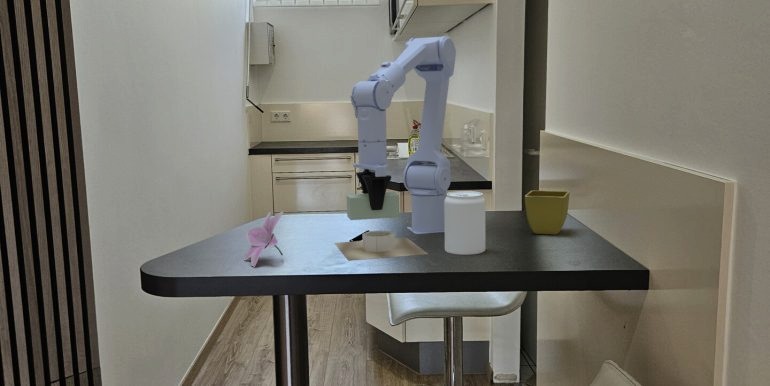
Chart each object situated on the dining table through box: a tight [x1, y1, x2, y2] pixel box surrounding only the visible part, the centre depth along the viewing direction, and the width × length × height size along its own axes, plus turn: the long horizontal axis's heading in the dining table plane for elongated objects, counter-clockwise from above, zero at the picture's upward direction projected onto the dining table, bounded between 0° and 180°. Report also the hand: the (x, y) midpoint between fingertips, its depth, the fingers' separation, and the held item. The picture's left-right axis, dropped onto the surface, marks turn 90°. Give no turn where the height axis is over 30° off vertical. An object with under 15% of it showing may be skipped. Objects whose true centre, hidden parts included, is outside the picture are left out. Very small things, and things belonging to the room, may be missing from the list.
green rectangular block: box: [346, 191, 400, 221], centre depth 143 cm, size 10×4×4 cm, turn 102°
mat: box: [333, 237, 429, 262], centre depth 144 cm, size 16×16×1 cm
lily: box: [243, 211, 284, 268], centre depth 138 cm, size 12×12×10 cm
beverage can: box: [444, 190, 486, 256], centre depth 140 cm, size 8×8×12 cm
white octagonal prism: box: [361, 230, 397, 252], centre depth 144 cm, size 6×6×3 cm
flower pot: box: [524, 189, 571, 236], centre depth 158 cm, size 9×9×9 cm
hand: (374, 207), depth 143 cm, fingers closed on green rectangular block, 4 cm apart
